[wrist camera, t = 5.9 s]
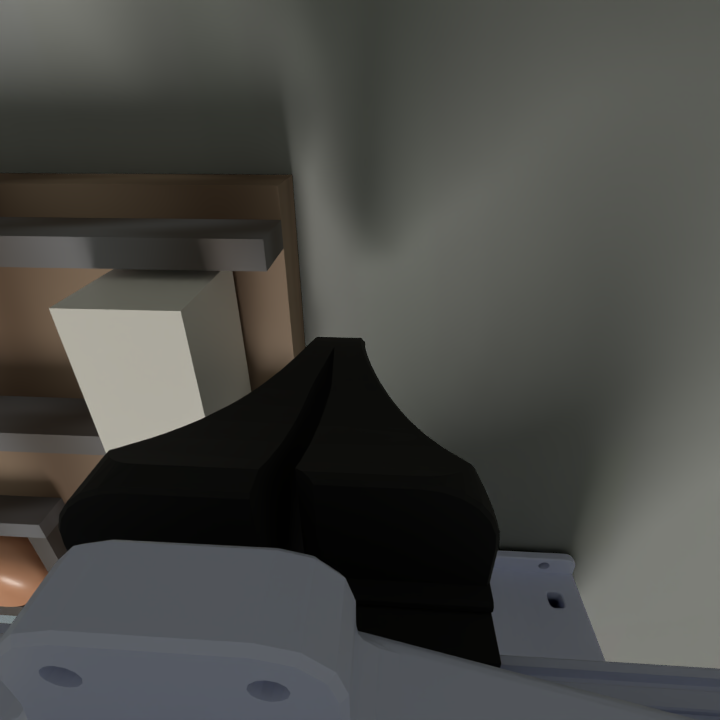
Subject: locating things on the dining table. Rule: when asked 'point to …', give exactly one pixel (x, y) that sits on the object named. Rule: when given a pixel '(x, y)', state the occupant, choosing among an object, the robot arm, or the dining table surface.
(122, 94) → the dining table surface
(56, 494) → the panel
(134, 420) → the slider knob
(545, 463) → the dining table surface
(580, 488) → the dining table surface
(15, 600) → the push button
